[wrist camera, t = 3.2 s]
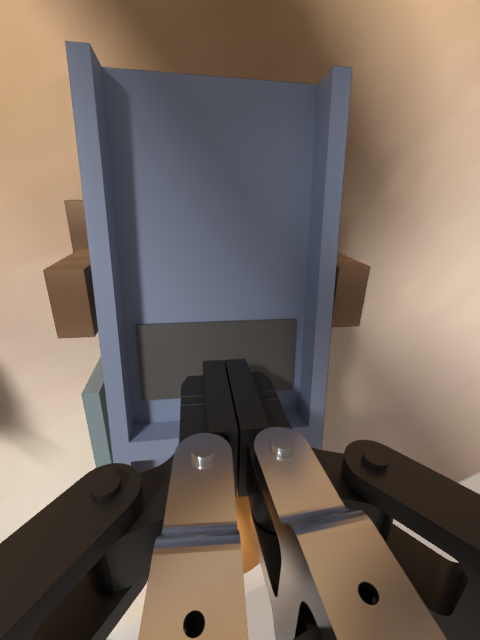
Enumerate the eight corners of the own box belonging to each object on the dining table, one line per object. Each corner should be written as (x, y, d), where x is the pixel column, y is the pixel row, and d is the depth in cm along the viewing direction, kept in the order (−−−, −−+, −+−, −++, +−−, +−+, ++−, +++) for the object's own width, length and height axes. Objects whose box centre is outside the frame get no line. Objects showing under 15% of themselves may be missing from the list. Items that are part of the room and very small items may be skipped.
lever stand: (71, 200, 16) (-23, 209, 9) (325, 205, 18) (415, 216, 11) (89, 308, 19) (26, 384, 11) (313, 301, 21) (382, 363, 13)
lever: (90, 81, 10) (65, 41, 8) (322, 98, 11) (352, 67, 9) (136, 540, 15) (127, 589, 13) (296, 518, 16) (312, 560, 14)
